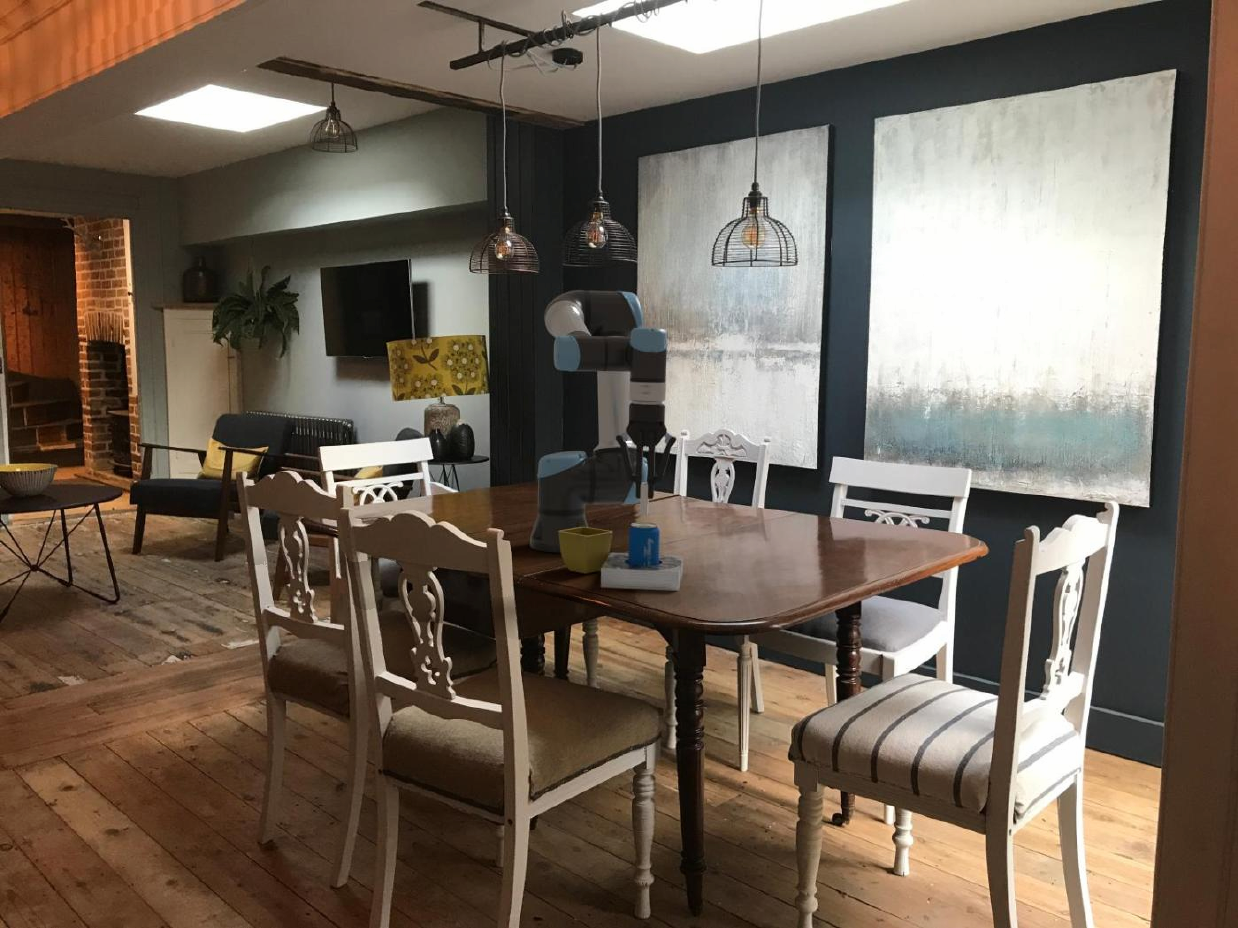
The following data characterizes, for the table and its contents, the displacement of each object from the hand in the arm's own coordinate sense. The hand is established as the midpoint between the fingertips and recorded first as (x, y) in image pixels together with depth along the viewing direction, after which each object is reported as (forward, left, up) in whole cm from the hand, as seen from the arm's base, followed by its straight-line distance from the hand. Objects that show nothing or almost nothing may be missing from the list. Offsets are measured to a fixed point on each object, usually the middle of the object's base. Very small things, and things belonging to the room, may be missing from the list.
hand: (644, 513), depth 211 cm
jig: (0, 0, -14) cm, 14 cm away
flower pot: (-13, +6, -15) cm, 21 cm away
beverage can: (0, 0, -15) cm, 15 cm away
